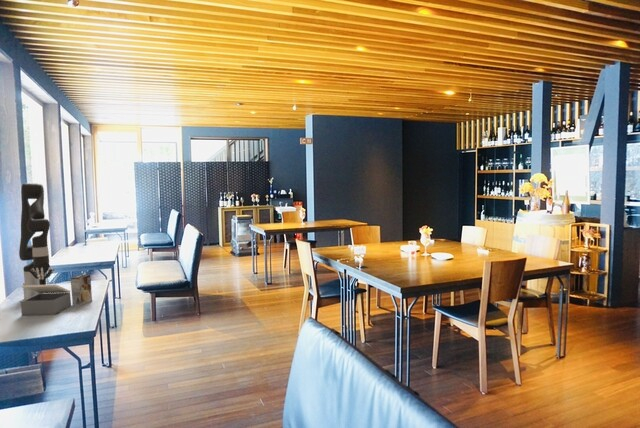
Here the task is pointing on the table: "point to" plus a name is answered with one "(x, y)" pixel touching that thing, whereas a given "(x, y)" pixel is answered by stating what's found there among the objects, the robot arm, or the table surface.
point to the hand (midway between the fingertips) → (42, 285)
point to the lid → (46, 288)
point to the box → (45, 304)
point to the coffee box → (81, 289)
